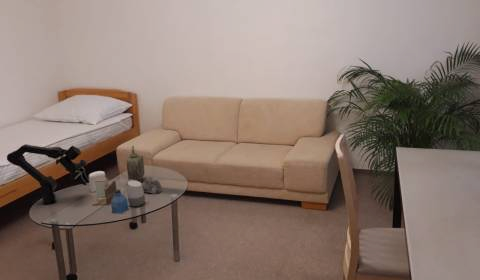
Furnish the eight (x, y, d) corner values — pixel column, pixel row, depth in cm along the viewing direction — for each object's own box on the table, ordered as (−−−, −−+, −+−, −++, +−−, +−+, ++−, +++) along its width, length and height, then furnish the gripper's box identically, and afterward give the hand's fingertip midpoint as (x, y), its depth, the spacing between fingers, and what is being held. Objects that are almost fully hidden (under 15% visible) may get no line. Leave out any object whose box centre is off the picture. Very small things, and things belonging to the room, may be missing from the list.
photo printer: (105, 187, 279) (103, 169, 276) (107, 189, 276) (105, 170, 273) (89, 191, 274) (87, 172, 271) (91, 192, 270) (88, 174, 267)
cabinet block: (97, 201, 253) (94, 181, 250) (101, 197, 258) (98, 178, 255) (106, 201, 252) (103, 181, 249) (110, 197, 258) (107, 177, 255)
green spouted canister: (132, 179, 292) (127, 144, 286) (145, 178, 293) (141, 143, 287) (129, 186, 278) (124, 149, 272) (143, 185, 279) (138, 148, 273)
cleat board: (92, 205, 249) (89, 189, 247) (101, 196, 263) (99, 181, 260) (109, 204, 248) (106, 188, 246) (117, 196, 262) (115, 180, 260)
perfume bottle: (128, 209, 240) (125, 189, 238) (120, 213, 235) (118, 192, 232) (119, 207, 243) (116, 188, 240) (112, 212, 238) (109, 191, 235)
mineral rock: (139, 191, 269) (137, 175, 266) (155, 187, 274) (153, 172, 272) (147, 196, 258) (145, 180, 256) (163, 192, 264) (162, 176, 261)
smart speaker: (141, 208, 241) (138, 184, 238) (126, 207, 243) (123, 184, 239) (147, 201, 250) (145, 178, 247) (133, 201, 252) (130, 178, 248)
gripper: (76, 157, 244) (95, 176, 247) (81, 154, 262) (99, 172, 265) (61, 170, 243) (81, 189, 246) (67, 166, 261) (86, 184, 264)
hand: (87, 183), depth 255 cm, fingers open, 9 cm apart
